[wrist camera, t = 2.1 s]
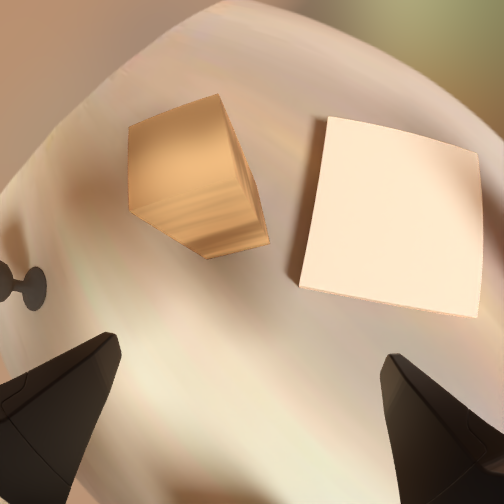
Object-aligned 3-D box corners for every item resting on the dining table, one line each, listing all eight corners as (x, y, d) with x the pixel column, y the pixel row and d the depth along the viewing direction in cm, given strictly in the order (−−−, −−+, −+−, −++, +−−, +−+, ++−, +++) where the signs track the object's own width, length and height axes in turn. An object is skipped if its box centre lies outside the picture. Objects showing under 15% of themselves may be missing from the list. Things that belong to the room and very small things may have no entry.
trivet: (467, 318, 18) (476, 317, 17) (299, 287, 21) (298, 285, 20) (470, 161, 20) (477, 153, 19) (327, 126, 24) (328, 116, 22)
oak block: (270, 243, 22) (235, 177, 12) (207, 259, 23) (128, 211, 12) (256, 185, 23) (218, 93, 13) (198, 201, 24) (128, 127, 14)
